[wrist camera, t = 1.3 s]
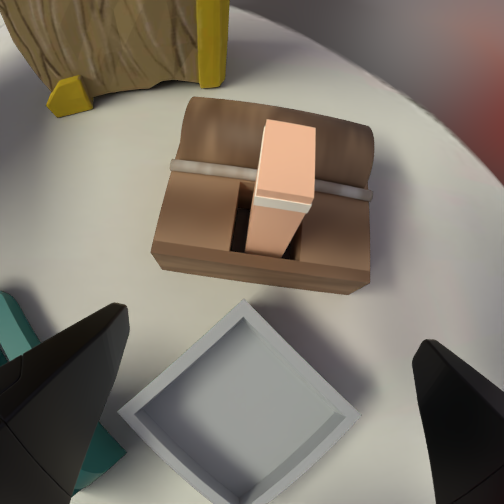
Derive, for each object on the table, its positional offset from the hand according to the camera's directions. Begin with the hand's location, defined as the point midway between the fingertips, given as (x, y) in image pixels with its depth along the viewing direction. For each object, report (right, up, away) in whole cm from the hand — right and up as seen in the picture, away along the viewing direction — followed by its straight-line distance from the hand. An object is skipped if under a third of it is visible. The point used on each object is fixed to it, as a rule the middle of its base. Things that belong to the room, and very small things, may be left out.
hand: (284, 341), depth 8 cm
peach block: (0, +3, +15) cm, 16 cm away
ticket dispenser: (0, +6, +16) cm, 17 cm away
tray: (-2, -9, +11) cm, 14 cm away
